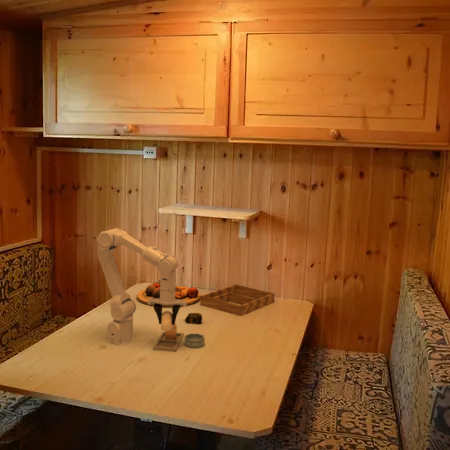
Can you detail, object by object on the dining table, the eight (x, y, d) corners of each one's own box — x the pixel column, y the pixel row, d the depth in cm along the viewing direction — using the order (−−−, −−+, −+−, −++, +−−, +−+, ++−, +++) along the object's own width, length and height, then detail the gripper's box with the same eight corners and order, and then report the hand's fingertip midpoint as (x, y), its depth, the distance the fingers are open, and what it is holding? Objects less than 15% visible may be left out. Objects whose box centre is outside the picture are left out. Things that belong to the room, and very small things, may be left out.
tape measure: (188, 319, 231) (188, 311, 231) (203, 321, 230) (203, 312, 229) (184, 324, 225) (184, 316, 224) (200, 326, 223) (200, 317, 223)
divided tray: (175, 352, 194) (175, 348, 194) (152, 351, 195) (152, 347, 194) (183, 337, 210) (183, 333, 210) (162, 335, 211) (162, 331, 210)
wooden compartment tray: (240, 316, 238) (241, 306, 237) (200, 305, 252) (200, 296, 251) (274, 302, 261) (274, 293, 260) (235, 292, 275) (235, 284, 274)
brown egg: (171, 341, 203) (171, 324, 202) (162, 339, 206) (163, 322, 205) (178, 338, 206) (179, 321, 205) (170, 336, 209) (170, 319, 208)
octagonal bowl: (195, 351, 196) (195, 342, 196) (180, 346, 201) (180, 337, 200) (208, 345, 202) (208, 336, 202) (193, 340, 207) (193, 332, 206)
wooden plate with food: (212, 296, 268) (213, 281, 267) (176, 313, 241) (176, 295, 239) (162, 286, 284) (163, 271, 282) (123, 300, 257) (123, 284, 255)
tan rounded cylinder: (167, 332, 194) (167, 313, 193) (158, 329, 197) (158, 311, 196) (175, 328, 198) (175, 311, 197) (166, 326, 200) (167, 308, 199)
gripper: (188, 287, 198) (187, 321, 200) (151, 284, 200) (150, 318, 202) (185, 292, 191) (184, 327, 193) (146, 289, 193) (146, 325, 195)
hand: (167, 323), depth 197 cm, fingers closed on tan rounded cylinder, 4 cm apart
